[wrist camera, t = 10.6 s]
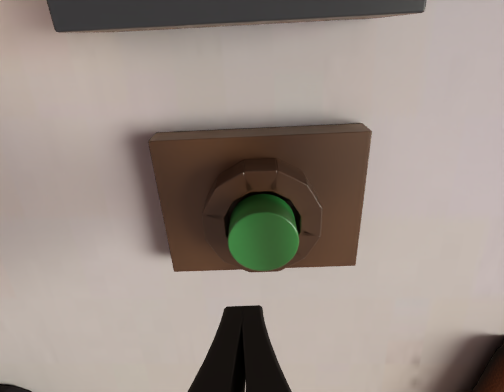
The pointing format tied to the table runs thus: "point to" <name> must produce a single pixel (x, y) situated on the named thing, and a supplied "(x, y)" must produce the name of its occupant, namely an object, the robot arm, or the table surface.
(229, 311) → the robot arm
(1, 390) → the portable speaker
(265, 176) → the box
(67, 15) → the cubby
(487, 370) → the sunglasses case
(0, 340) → the table surface
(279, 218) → the button
